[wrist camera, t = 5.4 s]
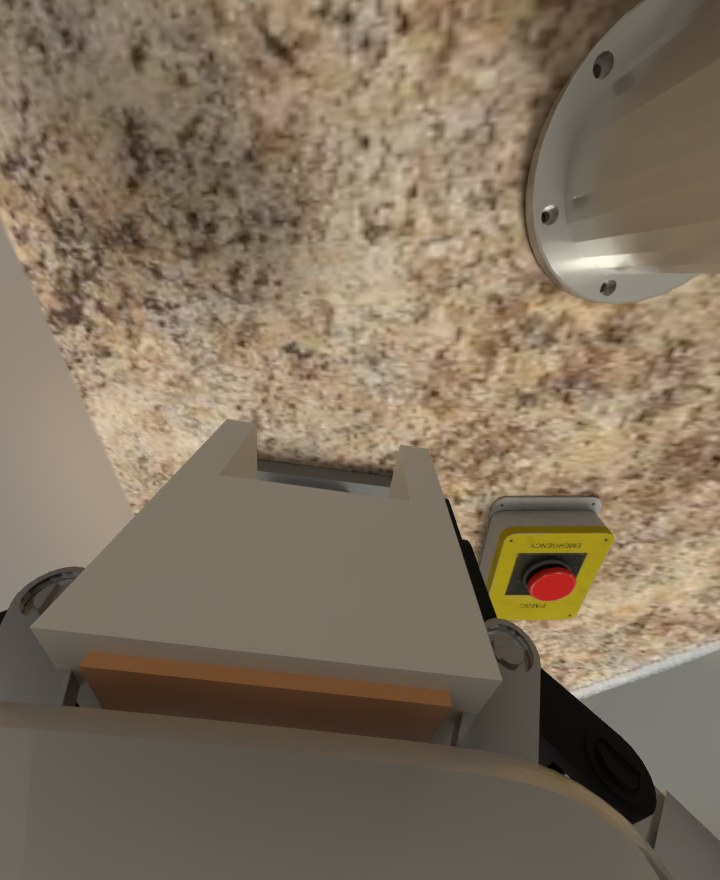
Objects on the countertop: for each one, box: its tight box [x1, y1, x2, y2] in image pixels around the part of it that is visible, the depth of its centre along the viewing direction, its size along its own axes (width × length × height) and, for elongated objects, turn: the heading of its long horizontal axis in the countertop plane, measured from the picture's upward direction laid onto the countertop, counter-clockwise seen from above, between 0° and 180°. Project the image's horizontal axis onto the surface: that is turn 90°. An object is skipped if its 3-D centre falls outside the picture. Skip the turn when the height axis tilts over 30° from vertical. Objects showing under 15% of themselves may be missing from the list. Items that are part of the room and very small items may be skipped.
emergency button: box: [478, 496, 614, 620], centre depth 28 cm, size 9×4×15 cm
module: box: [30, 419, 503, 746], centre depth 9 cm, size 5×7×7 cm
